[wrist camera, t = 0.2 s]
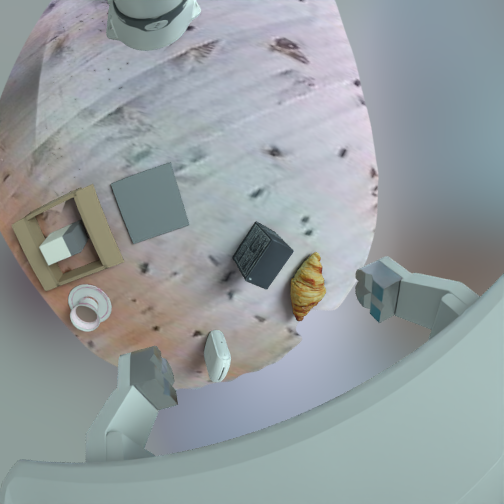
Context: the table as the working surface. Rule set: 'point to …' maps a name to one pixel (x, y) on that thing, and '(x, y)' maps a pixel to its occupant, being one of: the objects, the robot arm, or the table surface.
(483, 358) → the robot arm
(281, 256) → the small box
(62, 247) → the box
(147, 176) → the slate mat
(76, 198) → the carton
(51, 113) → the table surface
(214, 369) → the photo printer
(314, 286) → the croissant
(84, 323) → the teacup
